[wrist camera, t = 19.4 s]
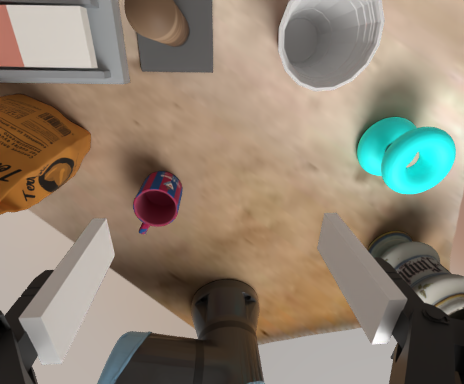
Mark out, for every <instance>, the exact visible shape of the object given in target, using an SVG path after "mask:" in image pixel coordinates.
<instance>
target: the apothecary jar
mask: <svg viewBox="0 0 464 384" xmlns="http://www.w3.org/2000/svg"><path fill="white" fill-rule="evenodd" d="M368 252H369V253H370V254H371V255H372V257H373V258H374V257H381V258H382V259H384V260H385V261H387V262H388V263H390V264H391V265H392V267H393V268H394V269H395V270H396V271H397V273H399V274H400V276H401V277H402V278H403V280H405V281H406V282H407V284H408V285H409V286H410V287H411V288H412V289H413V290H414V291H415V293H416V294H417V295H418V296H419V297H420V298H421V299H422V300H423V302H424V303H428V304H431V305H434V306H436V307H438V308H440V309H441V310H442V311H444V312H445V313H446V314H447V315H448V316H449V317H450V318H454V319H458V320H463V321H464V276H460V275H455V274H451V273H450V272H449V271H448V270H447V269H445V268H444V267H443V266H442V265H441V264H440V258H439V255H438V253H437V252H436V251H435V250H434V249H433V248H432V247H431V246H429V245H427V244H425V243H422V242H412V238H411V237H410V236H409V235H408V234H407V233H404V232H401V231H392V232H388V233H385V234H383V235H381V236H379V237H378V238H376V239H375V240H374V241H373V242H372V243H371V244H370V246H369V248H368Z"/></svg>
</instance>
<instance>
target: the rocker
mask: <svg viewBox="0 0 464 384" xmlns="http://www.w3.org/2000/svg"><path fill="white" fill-rule="evenodd" d="M0 66H7V67H58V68H98V66H97V61H96V56H95V51H94V46H93V40H92V35H91V30H90V25H89V20H88V14H87V9H86V8H84V7H81V6H46V5H0Z"/></svg>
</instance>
